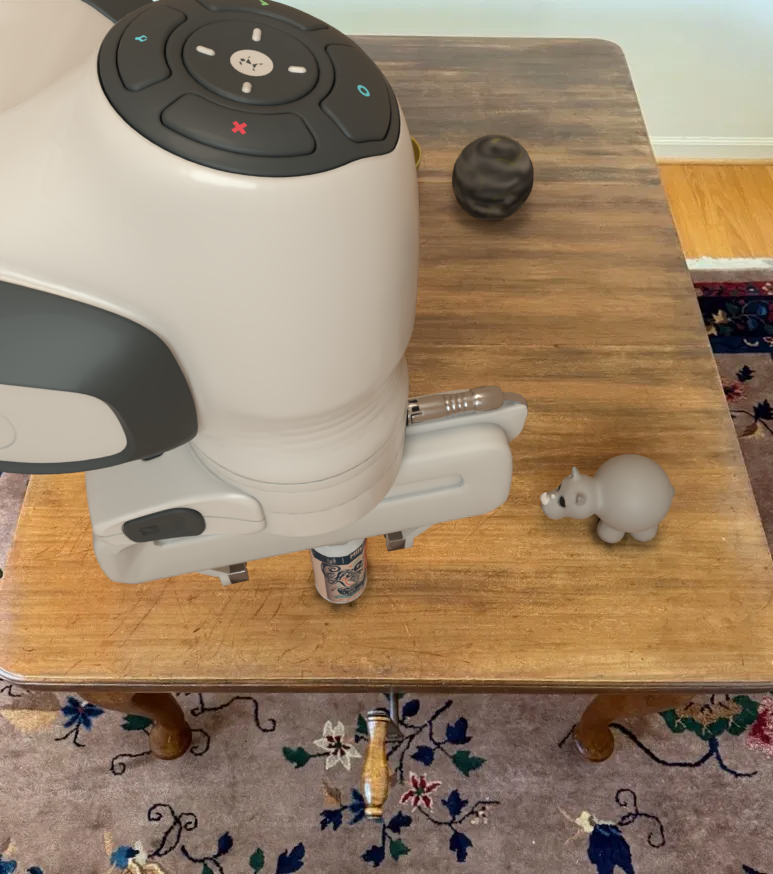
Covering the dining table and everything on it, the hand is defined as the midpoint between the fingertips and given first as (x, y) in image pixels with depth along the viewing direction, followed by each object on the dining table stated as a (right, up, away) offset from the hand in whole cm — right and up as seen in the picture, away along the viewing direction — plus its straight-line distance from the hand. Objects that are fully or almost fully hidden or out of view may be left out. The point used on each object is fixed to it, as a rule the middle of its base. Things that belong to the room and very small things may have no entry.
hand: (317, 554), depth 43 cm
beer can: (0, -7, +26) cm, 27 cm away
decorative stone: (+17, +36, +53) cm, 66 cm away
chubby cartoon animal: (+24, -1, +30) cm, 38 cm away
